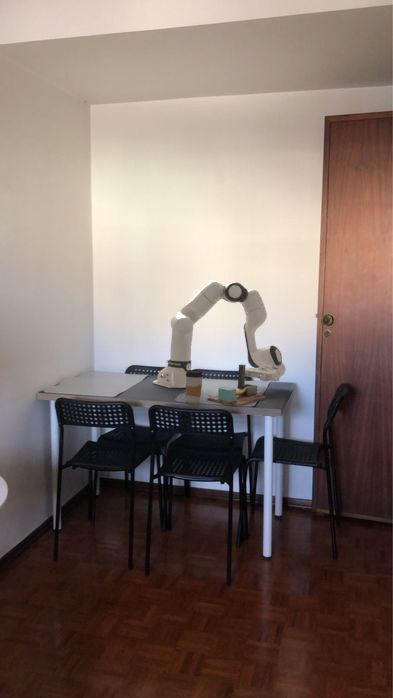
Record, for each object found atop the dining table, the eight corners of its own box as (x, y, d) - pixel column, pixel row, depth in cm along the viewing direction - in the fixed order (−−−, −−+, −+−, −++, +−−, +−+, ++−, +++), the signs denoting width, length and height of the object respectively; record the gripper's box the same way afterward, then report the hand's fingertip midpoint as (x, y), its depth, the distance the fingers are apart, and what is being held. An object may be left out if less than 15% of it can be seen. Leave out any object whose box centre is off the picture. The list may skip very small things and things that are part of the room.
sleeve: (236, 394, 297) (237, 386, 297) (246, 392, 304) (246, 383, 303) (247, 396, 293) (248, 388, 293) (256, 394, 300) (257, 385, 300)
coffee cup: (195, 404, 276) (197, 373, 274) (181, 402, 280) (182, 371, 278) (205, 401, 283) (206, 371, 281) (190, 399, 287) (191, 369, 285)
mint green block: (218, 399, 285) (218, 388, 284) (223, 398, 289) (224, 386, 288) (229, 401, 281) (230, 390, 280) (235, 400, 284) (236, 389, 284)
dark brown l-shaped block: (232, 395, 290) (233, 365, 288) (247, 391, 301) (248, 362, 299) (237, 396, 289) (238, 366, 287) (252, 392, 300) (253, 363, 298)
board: (207, 399, 287) (207, 397, 287) (236, 392, 308) (236, 390, 307) (238, 406, 277) (238, 404, 276) (266, 398, 297) (266, 396, 297)
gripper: (249, 364, 317) (234, 366, 306) (282, 369, 305) (268, 372, 294) (248, 375, 318) (234, 378, 307) (281, 381, 305) (268, 384, 295)
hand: (251, 375), depth 300 cm, fingers open, 8 cm apart
